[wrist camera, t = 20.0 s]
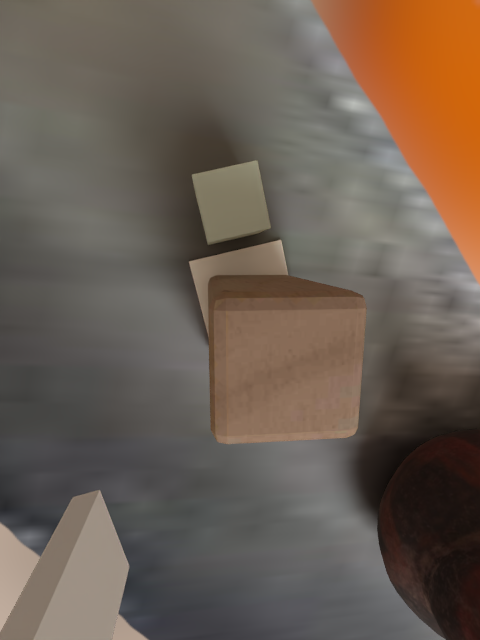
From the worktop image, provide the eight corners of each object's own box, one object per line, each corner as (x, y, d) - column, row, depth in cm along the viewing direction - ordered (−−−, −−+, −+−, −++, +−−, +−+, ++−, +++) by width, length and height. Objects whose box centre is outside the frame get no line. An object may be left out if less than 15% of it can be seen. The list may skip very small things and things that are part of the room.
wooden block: (207, 274, 39) (208, 294, 19) (292, 274, 40) (374, 292, 20) (209, 357, 41) (211, 451, 21) (289, 355, 42) (362, 443, 22)
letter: (188, 261, 39) (188, 261, 38) (280, 239, 39) (281, 239, 39) (221, 387, 42) (221, 388, 42) (305, 365, 42) (306, 366, 42)
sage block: (194, 191, 37) (191, 174, 29) (246, 179, 38) (257, 160, 30) (207, 245, 39) (208, 242, 31) (258, 233, 39) (270, 228, 31)
